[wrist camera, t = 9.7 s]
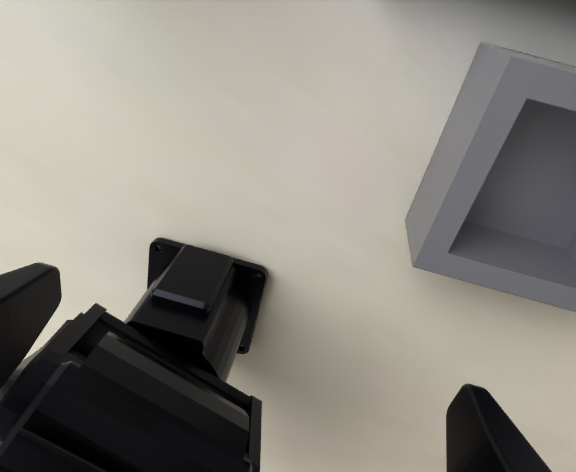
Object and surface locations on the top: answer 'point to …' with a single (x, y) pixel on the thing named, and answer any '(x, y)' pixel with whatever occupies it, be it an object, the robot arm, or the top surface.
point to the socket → (504, 181)
